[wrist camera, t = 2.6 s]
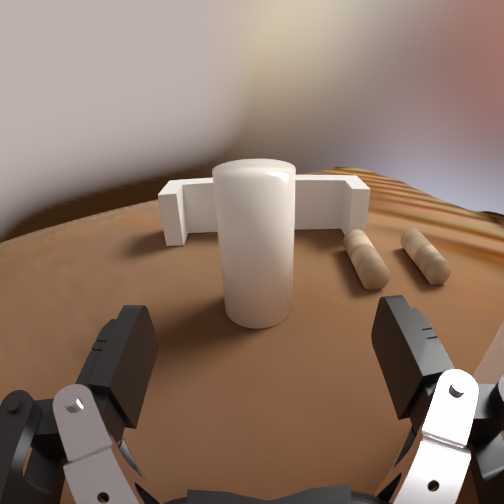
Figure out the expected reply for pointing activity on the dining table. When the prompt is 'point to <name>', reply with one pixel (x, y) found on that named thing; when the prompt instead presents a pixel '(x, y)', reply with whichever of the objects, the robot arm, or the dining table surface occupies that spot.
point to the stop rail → (306, 205)
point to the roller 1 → (366, 260)
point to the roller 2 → (425, 257)
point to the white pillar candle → (256, 239)
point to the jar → (492, 363)
